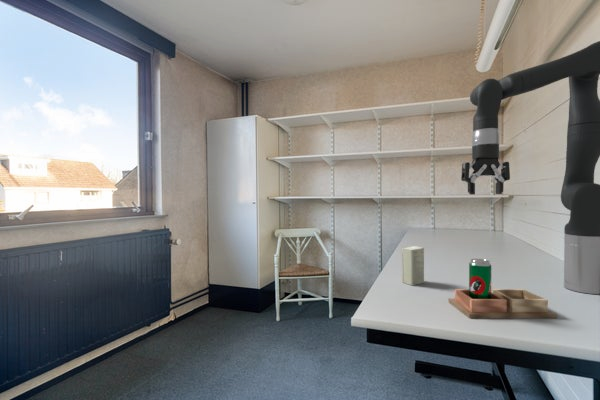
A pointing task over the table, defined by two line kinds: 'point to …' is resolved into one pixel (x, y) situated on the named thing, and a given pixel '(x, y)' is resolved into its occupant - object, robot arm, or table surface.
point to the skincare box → (413, 265)
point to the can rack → (502, 304)
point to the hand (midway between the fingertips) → (485, 194)
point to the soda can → (480, 279)
